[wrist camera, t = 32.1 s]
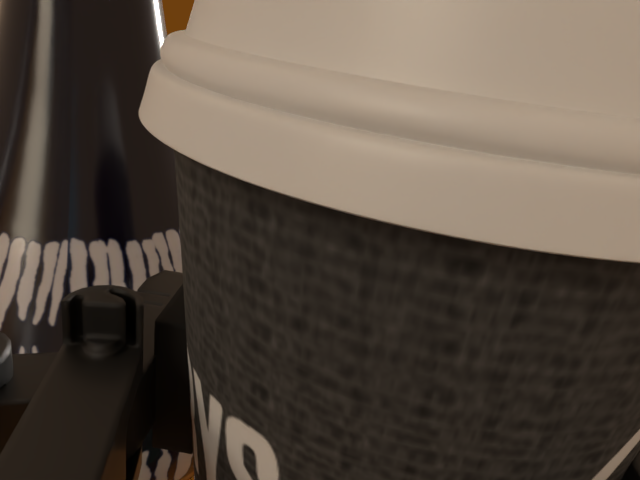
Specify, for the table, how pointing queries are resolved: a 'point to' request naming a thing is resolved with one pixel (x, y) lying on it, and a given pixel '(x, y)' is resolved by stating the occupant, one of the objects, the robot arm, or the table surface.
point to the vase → (81, 169)
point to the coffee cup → (407, 236)
